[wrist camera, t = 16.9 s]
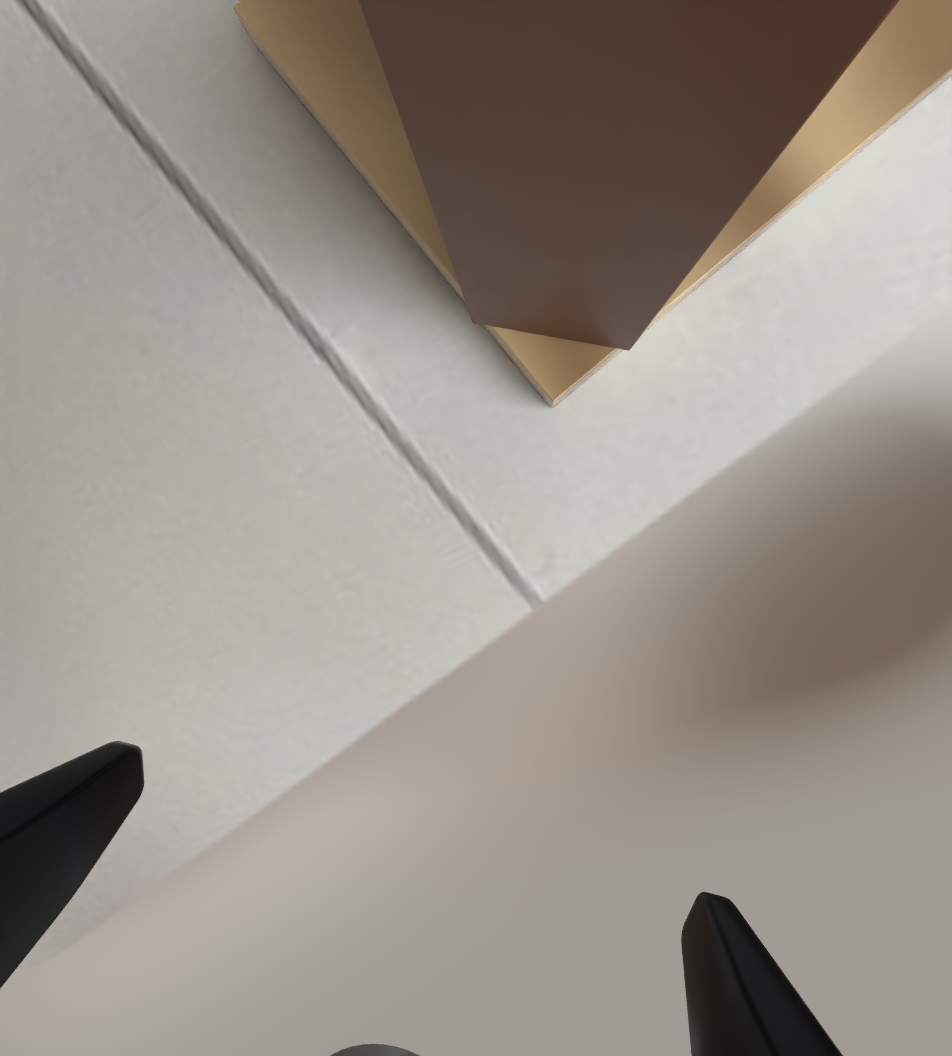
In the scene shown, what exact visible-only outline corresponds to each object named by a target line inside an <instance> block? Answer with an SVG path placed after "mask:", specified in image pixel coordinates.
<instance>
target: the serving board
mask: <svg viewBox="0 0 952 1056" xmlns="http://www.w3.org/2000/svg"><path fill="white" fill-rule="evenodd" d="M234 10H235V13H236V14H237V16H238V18H239V19H240V21H241V22H242V24H243V26H244V27H245V29H246V30H247V32H248V34H249V35H250V37H251V38H252V40H253V42H254V43H255V45H256V46H257V48H258V49H259V50H260V51H261V53H262V54H263V55H264V56H265V58H266V59H267V60H268V61H269V62H270V64H271V65H272V66H273V67H274V69H275V70H276V71H277V72H278V74H279V75H280V76H281V77H282V78H283V80H284V81H285V82H286V83H287V85H288V86H289V87H290V88H291V90H292V91H293V92H294V93H295V94H296V96H297V97H298V98H299V99H300V101H301V102H302V103H303V104H304V105H305V107H306V108H307V109H308V110H309V112H310V113H311V114H312V115H313V117H314V118H315V119H316V120H317V121H318V123H319V124H320V125H321V126H322V128H323V129H324V130H325V131H326V133H327V134H328V135H329V136H330V137H331V139H332V140H333V141H334V142H335V144H336V145H337V146H338V147H339V148H340V150H341V151H342V152H343V153H344V155H345V156H346V157H347V158H348V160H349V161H350V162H351V163H352V164H353V166H354V167H355V168H356V169H357V171H358V172H359V173H360V174H361V175H362V177H363V178H364V179H365V180H366V182H367V183H368V184H369V185H370V187H371V188H372V189H373V190H374V191H375V193H376V194H377V195H378V196H379V198H380V199H381V200H382V201H383V203H384V204H385V205H386V206H387V207H388V209H389V210H390V211H391V212H392V214H393V215H394V216H395V217H396V218H397V220H398V221H399V222H400V223H401V225H402V226H403V227H404V228H405V230H406V231H407V232H408V233H409V234H410V236H411V237H412V238H413V239H414V241H415V242H416V243H417V244H418V245H419V247H420V248H421V249H422V250H423V252H424V253H425V254H426V255H427V257H428V258H429V259H430V260H431V261H432V263H433V264H434V265H435V266H436V268H437V269H438V270H439V271H440V273H441V274H442V275H443V276H444V277H445V279H446V280H447V281H448V282H449V284H450V285H451V286H452V287H453V288H454V290H455V291H456V292H457V293H458V295H459V296H460V297H461V298H462V300H463V301H464V302H465V299H464V297H463V294H462V291H461V288H460V285H459V282H458V280H457V277H456V274H455V271H454V268H453V265H452V263H451V260H450V257H449V254H448V251H447V248H446V246H445V243H444V240H443V237H442V234H441V232H440V229H439V226H438V223H437V220H436V217H435V215H434V212H433V209H432V206H431V203H430V200H429V198H428V195H427V192H426V189H425V186H424V184H423V181H422V178H421V175H420V172H419V169H418V167H417V164H416V161H415V158H414V155H413V152H412V150H411V147H410V144H409V141H408V138H407V136H406V133H405V130H404V127H403V124H402V121H401V119H400V116H399V113H398V110H397V107H396V104H395V102H394V99H393V96H392V93H391V90H390V87H389V85H388V82H387V79H386V76H385V73H384V71H383V68H382V65H381V62H380V59H379V56H378V54H377V51H376V48H375V45H374V42H373V39H372V37H371V34H370V31H369V28H368V25H367V23H366V20H365V17H364V14H363V11H362V8H361V6H360V3H359V0H241V1H240V2H239V3H238V4H237V5H236V6H235V7H234ZM950 76H952V0H900V1H899V2H898V3H897V4H896V6H895V7H894V8H893V10H892V11H891V12H890V14H889V15H888V16H887V17H886V19H885V20H884V21H883V23H882V24H881V25H880V27H879V28H878V29H877V30H876V32H875V33H874V34H873V36H872V37H871V38H870V39H869V41H868V42H867V43H866V45H865V46H864V47H863V49H862V50H861V51H860V52H859V54H858V55H857V56H856V58H855V59H854V60H853V61H852V63H851V64H850V65H849V67H848V68H847V69H846V71H845V72H844V73H843V74H842V76H841V77H840V78H839V80H838V81H837V82H836V83H835V85H834V86H833V87H832V89H831V90H830V91H829V93H828V94H827V95H826V96H825V98H824V99H823V100H822V102H821V103H820V104H819V105H818V107H817V108H816V109H815V111H814V112H813V113H812V115H811V116H810V117H809V118H808V120H807V121H806V122H805V124H804V125H803V126H802V127H801V129H800V130H799V131H798V133H797V134H796V135H795V137H794V138H793V139H792V140H791V142H790V143H789V144H788V146H787V147H786V148H785V150H784V151H783V152H782V153H781V155H780V156H779V157H778V159H777V160H776V161H775V162H774V164H773V165H772V166H771V168H770V169H769V170H768V172H767V173H766V174H765V175H764V177H763V178H762V179H761V181H760V182H759V183H758V184H757V186H756V187H755V188H754V190H753V191H752V192H751V194H750V195H749V196H748V197H747V199H746V200H745V201H744V203H743V204H742V205H741V206H740V208H739V209H738V210H737V212H736V213H735V214H734V216H733V217H732V218H731V219H730V221H729V222H728V223H727V225H726V226H725V227H724V228H723V230H722V231H721V232H720V234H719V235H718V236H717V238H716V239H715V240H714V241H713V243H712V244H711V245H710V247H709V248H708V249H707V251H706V252H705V253H704V254H703V256H702V257H701V258H700V260H699V261H698V262H697V263H696V265H695V266H694V267H693V269H692V270H691V271H690V273H689V274H688V275H687V276H686V278H685V279H684V280H683V282H682V283H681V284H680V285H679V287H678V288H677V289H676V291H675V292H674V293H673V295H672V296H671V297H670V298H669V300H668V301H667V302H666V304H665V305H664V306H663V307H662V309H661V310H660V311H659V313H658V314H657V315H656V317H655V318H654V319H653V320H652V322H651V323H650V324H649V326H648V327H647V328H646V329H645V331H646V330H647V329H648V328H650V327H651V326H652V325H653V324H654V323H656V322H657V321H658V320H659V319H660V318H662V317H663V316H664V315H665V314H666V313H668V312H669V311H670V310H671V309H672V308H674V307H675V306H676V305H677V304H678V303H680V302H681V301H682V300H683V299H684V298H686V297H687V296H688V295H689V294H690V293H692V292H693V291H694V290H695V289H696V288H698V287H699V286H700V285H701V284H702V283H704V282H705V281H706V280H707V279H708V278H710V277H711V276H712V275H713V274H714V273H715V272H717V271H718V270H719V269H720V268H721V267H723V266H724V265H725V264H726V263H727V262H729V261H730V260H731V259H732V258H733V257H735V256H736V255H737V254H738V253H739V252H741V251H742V250H743V249H744V248H745V247H747V246H748V245H749V244H750V243H751V242H753V241H754V240H755V239H756V238H757V237H759V236H760V235H761V234H762V233H763V232H765V231H766V230H767V229H768V228H769V227H771V226H772V225H773V224H774V223H775V222H777V221H778V220H779V219H780V218H781V217H783V216H784V215H785V214H786V213H787V212H789V211H790V210H791V209H792V208H793V207H795V206H796V205H797V204H798V203H799V202H801V201H802V200H803V199H804V198H805V197H807V196H808V195H809V194H810V193H811V192H813V191H814V190H815V189H816V188H817V187H819V186H820V185H821V184H822V183H823V182H825V181H826V180H827V179H828V178H829V177H831V176H832V175H833V174H834V173H835V172H837V171H838V170H839V169H840V168H841V167H843V166H844V165H845V164H846V163H847V162H849V161H850V160H851V159H852V158H853V157H855V156H856V155H857V154H858V153H859V152H861V151H862V150H863V149H864V148H865V147H867V146H868V145H869V144H870V143H871V142H872V141H874V140H875V139H876V138H877V137H878V136H880V135H881V134H882V133H883V132H884V131H886V130H887V129H888V128H889V127H890V126H892V125H893V124H894V123H895V122H896V121H898V120H899V119H900V118H901V117H902V116H904V115H905V114H906V113H907V112H908V111H910V110H911V109H912V108H913V107H914V106H916V105H917V104H918V103H919V102H920V101H922V100H923V99H924V98H925V97H926V96H928V95H929V94H930V93H931V92H932V91H934V90H935V89H936V88H937V87H938V86H940V85H941V84H942V83H943V82H944V81H946V80H947V79H948V78H949V77H950ZM465 303H466V302H465ZM484 327H485V328H486V329H487V330H488V331H489V333H490V334H491V335H492V336H493V338H494V339H495V340H496V341H497V343H498V344H499V345H500V346H501V347H502V349H503V350H504V351H505V352H506V354H507V355H508V356H509V357H510V358H511V360H512V361H513V362H514V363H515V365H516V366H517V367H518V368H519V370H520V371H521V372H522V373H523V374H524V376H525V377H526V378H527V379H528V381H529V382H530V383H531V384H532V386H533V387H534V388H535V389H536V390H537V392H538V393H539V394H540V395H541V397H542V398H543V399H544V400H545V401H546V403H547V404H548V405H549V406H550V407H551V408H554V407H555V406H556V405H557V404H558V403H560V402H561V401H562V400H563V399H564V398H566V397H567V396H568V395H569V394H570V393H572V392H573V391H574V390H575V389H576V388H578V387H579V386H580V385H581V384H582V383H584V382H585V381H586V380H587V379H588V378H590V377H591V376H592V375H593V374H594V373H596V372H597V371H598V370H599V369H600V368H602V367H603V366H604V365H605V364H606V363H608V362H609V361H610V360H611V359H612V358H614V357H615V356H616V355H617V354H618V353H620V352H621V351H622V350H623V349H617V348H612V347H606V346H601V345H595V344H589V343H584V342H578V341H572V340H567V339H561V338H556V337H550V336H544V335H539V334H533V333H528V332H522V331H516V330H511V329H505V328H500V327H494V326H488V325H484ZM645 331H644V332H645ZM644 332H643V333H644Z"/></svg>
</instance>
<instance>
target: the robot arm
mask: <svg viewBox="0 0 952 1056" xmlns="http://www.w3.org/2000/svg"><path fill="white" fill-rule="evenodd" d="M143 787H144V771H143V757H142V750H141V749H140V747H139V746H137V745H133V744H129V743H125V742H121V741H114V742H110V743H108V744H105V745H103V746H101V747H99V748H97V749H94V750H92V751H90V752H88V753H86V754H84V755H81V756H79V757H77V758H75V759H73V760H70V761H68V762H66V763H64V764H62V765H60V766H57V767H55V768H53V769H51V770H49V771H46V772H44V773H42V774H40V775H38V776H35V777H33V778H31V779H29V780H27V781H25V782H22V783H20V784H18V785H16V786H14V787H11V788H9V789H7V790H5V791H3V792H1V793H0V988H1V987H2V985H3V984H4V983H5V982H6V981H7V979H8V978H9V977H10V976H11V974H12V973H13V972H14V971H15V969H16V968H17V967H18V965H19V964H20V963H21V962H22V960H23V959H24V958H25V957H26V955H27V954H28V953H29V952H30V950H31V949H32V948H33V947H34V945H35V944H36V943H37V942H38V940H39V939H40V938H41V937H42V935H43V934H44V933H45V932H46V930H47V929H48V928H49V927H50V925H51V924H52V923H53V922H54V920H55V919H56V918H57V917H58V915H59V914H60V913H61V911H62V910H63V909H64V907H65V906H66V905H67V904H68V902H69V901H70V900H71V898H72V897H73V895H74V894H75V893H76V891H77V890H78V888H79V887H80V886H81V884H82V883H83V881H84V880H85V878H86V877H87V875H88V874H89V872H90V871H91V869H92V868H93V866H94V865H95V864H96V862H97V861H98V859H99V858H100V856H101V855H102V853H103V852H104V850H105V849H106V847H107V846H108V844H109V843H110V841H111V840H112V838H113V837H114V835H115V834H116V832H117V831H118V829H119V828H120V826H121V825H122V823H123V822H124V820H125V819H126V817H127V816H128V814H129V813H130V811H131V810H132V808H133V807H134V805H135V804H136V803H137V801H138V799H139V798H140V796H141V793H142V791H143ZM681 943H682V955H683V964H684V965H683V966H684V977H685V988H686V999H687V1010H688V1020H689V1032H690V1043H691V1054H692V1056H843V1055H842V1054H841V1053H840V1051H839V1050H838V1048H837V1047H836V1045H835V1044H834V1043H833V1041H832V1040H831V1038H830V1037H829V1036H828V1034H827V1033H826V1032H825V1030H824V1029H823V1028H822V1026H821V1025H820V1023H819V1022H818V1020H817V1019H816V1018H815V1016H814V1015H813V1013H812V1012H811V1011H810V1009H809V1008H808V1006H807V1005H806V1004H805V1002H804V1001H803V999H802V998H801V997H800V995H799V994H798V993H797V991H796V990H795V988H794V987H793V986H792V984H791V983H790V981H789V980H788V979H787V977H786V976H785V975H784V973H783V972H782V970H781V969H780V967H779V966H778V965H777V963H776V962H775V960H774V959H773V958H772V956H771V955H770V953H769V952H768V951H767V949H766V948H765V947H764V945H763V944H762V942H761V941H760V940H759V938H758V937H757V935H756V934H755V933H754V931H753V930H752V928H751V927H750V926H749V924H748V923H747V921H746V920H745V919H744V917H743V916H742V914H741V913H740V912H739V910H738V909H737V908H736V906H735V905H734V904H733V903H732V902H731V901H730V900H729V899H728V898H725V897H722V896H719V895H714V894H711V893H707V892H702V893H700V894H699V895H698V896H697V898H696V900H695V902H694V904H693V907H692V909H691V911H690V913H689V915H688V917H687V919H686V921H685V923H684V926H683V930H682V940H681Z"/></svg>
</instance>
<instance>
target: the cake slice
mask: <svg viewBox="0 0 952 1056" xmlns="http://www.w3.org/2000/svg"><path fill="white" fill-rule="evenodd" d="M899 1H900V0H359V3H360V6H361V8H362V11H363V14H364V17H365V20H366V23H367V25H368V28H369V31H370V34H371V37H372V39H373V42H374V45H375V48H376V51H377V54H378V56H379V59H380V62H381V65H382V68H383V71H384V73H385V76H386V79H387V82H388V85H389V87H390V90H391V93H392V96H393V99H394V102H395V104H396V107H397V110H398V113H399V116H400V119H401V121H402V124H403V127H404V130H405V133H406V136H407V138H408V141H409V144H410V147H411V150H412V152H413V155H414V158H415V161H416V164H417V167H418V169H419V172H420V175H421V178H422V181H423V184H424V186H425V189H426V192H427V195H428V198H429V200H430V203H431V206H432V209H433V212H434V215H435V217H436V220H437V223H438V226H439V229H440V232H441V234H442V237H443V240H444V243H445V246H446V248H447V251H448V254H449V257H450V260H451V263H452V265H453V268H454V271H455V274H456V277H457V280H458V282H459V285H460V288H461V291H462V294H463V297H464V299H465V302H466V305H467V308H468V311H469V313H470V316H471V319H472V322H473V323H477V324H483V325H488V326H494V327H500V328H505V329H511V330H516V331H522V332H528V333H533V334H539V335H544V336H550V337H556V338H561V339H567V340H572V341H578V342H584V343H589V344H595V345H601V346H606V347H612V348H617V349H623V350H630V349H631V348H632V346H633V345H634V344H635V342H636V341H637V340H638V339H639V337H640V336H641V335H642V333H643V332H644V331H645V329H646V328H647V327H648V326H649V324H650V323H651V322H652V320H653V319H654V318H655V317H656V315H657V314H658V313H659V311H660V310H661V309H662V307H663V306H664V305H665V304H666V302H667V301H668V300H669V298H670V297H671V296H672V295H673V293H674V292H675V291H676V289H677V288H678V287H679V285H680V284H681V283H682V282H683V280H684V279H685V278H686V276H687V275H688V274H689V273H690V271H691V270H692V269H693V267H694V266H695V265H696V263H697V262H698V261H699V260H700V258H701V257H702V256H703V254H704V253H705V252H706V251H707V249H708V248H709V247H710V245H711V244H712V243H713V241H714V240H715V239H716V238H717V236H718V235H719V234H720V232H721V231H722V230H723V228H724V227H725V226H726V225H727V223H728V222H729V221H730V219H731V218H732V217H733V216H734V214H735V213H736V212H737V210H738V209H739V208H740V206H741V205H742V204H743V203H744V201H745V200H746V199H747V197H748V196H749V195H750V194H751V192H752V191H753V190H754V188H755V187H756V186H757V184H758V183H759V182H760V181H761V179H762V178H763V177H764V175H765V174H766V173H767V172H768V170H769V169H770V168H771V166H772V165H773V164H774V162H775V161H776V160H777V159H778V157H779V156H780V155H781V153H782V152H783V151H784V150H785V148H786V147H787V146H788V144H789V143H790V142H791V140H792V139H793V138H794V137H795V135H796V134H797V133H798V131H799V130H800V129H801V127H802V126H803V125H804V124H805V122H806V121H807V120H808V118H809V117H810V116H811V115H812V113H813V112H814V111H815V109H816V108H817V107H818V105H819V104H820V103H821V102H822V100H823V99H824V98H825V96H826V95H827V94H828V93H829V91H830V90H831V89H832V87H833V86H834V85H835V83H836V82H837V81H838V80H839V78H840V77H841V76H842V74H843V73H844V72H845V71H846V69H847V68H848V67H849V65H850V64H851V63H852V61H853V60H854V59H855V58H856V56H857V55H858V54H859V52H860V51H861V50H862V49H863V47H864V46H865V45H866V43H867V42H868V41H869V39H870V38H871V37H872V36H873V34H874V33H875V32H876V30H877V29H878V28H879V27H880V25H881V24H882V23H883V21H884V20H885V19H886V17H887V16H888V15H889V14H890V12H891V11H892V10H893V8H894V7H895V6H896V4H897V3H898V2H899Z"/></svg>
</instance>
